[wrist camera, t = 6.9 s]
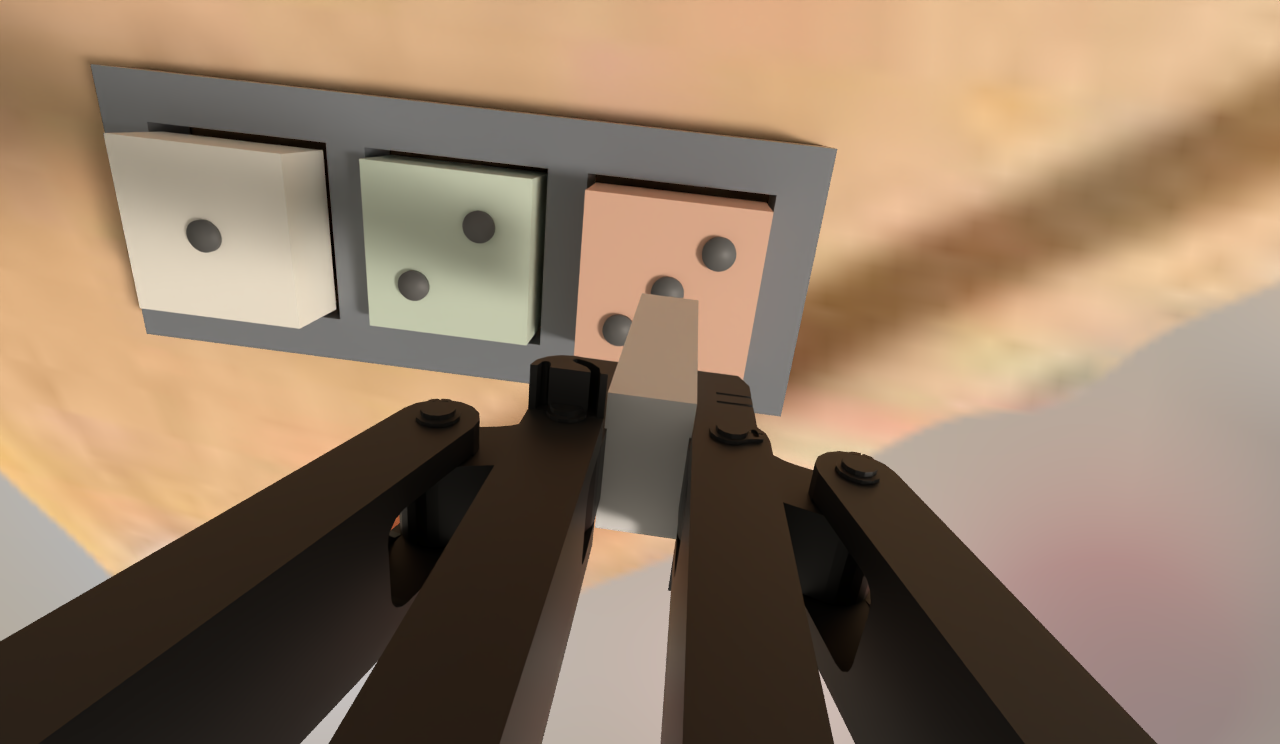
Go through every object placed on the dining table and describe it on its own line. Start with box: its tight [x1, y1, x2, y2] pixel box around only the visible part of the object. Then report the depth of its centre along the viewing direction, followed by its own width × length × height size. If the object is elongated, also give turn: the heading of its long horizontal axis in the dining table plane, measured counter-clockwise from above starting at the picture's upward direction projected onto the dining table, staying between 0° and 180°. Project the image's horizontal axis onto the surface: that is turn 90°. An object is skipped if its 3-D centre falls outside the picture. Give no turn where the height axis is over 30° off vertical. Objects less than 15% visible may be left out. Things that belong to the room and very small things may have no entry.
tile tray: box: [91, 64, 837, 416], centre depth 24 cm, size 26×10×2 cm, turn 84°
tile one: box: [103, 131, 336, 329], centre depth 23 cm, size 6×6×3 cm
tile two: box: [359, 155, 548, 345], centre depth 24 cm, size 6×6×3 cm
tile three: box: [574, 182, 774, 380], centre depth 22 cm, size 6×6×3 cm
